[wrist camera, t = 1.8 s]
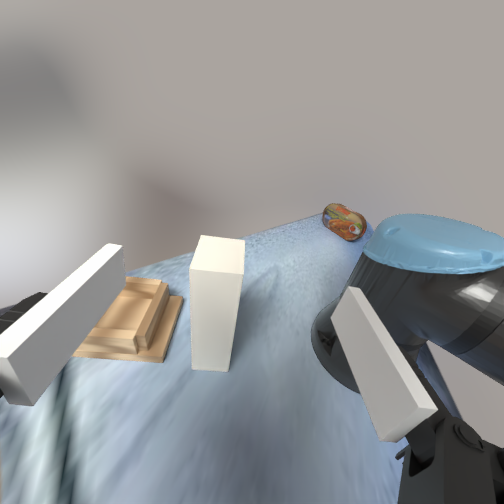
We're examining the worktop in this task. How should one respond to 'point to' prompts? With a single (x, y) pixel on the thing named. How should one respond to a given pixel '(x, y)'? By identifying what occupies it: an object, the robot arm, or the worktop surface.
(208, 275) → the white rectangular block
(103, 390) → the worktop surface
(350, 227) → the tin
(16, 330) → the robot arm
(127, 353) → the wooden box
